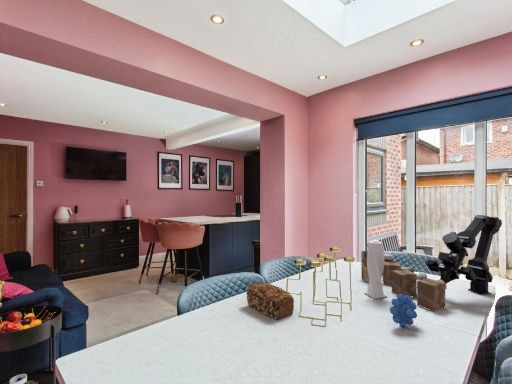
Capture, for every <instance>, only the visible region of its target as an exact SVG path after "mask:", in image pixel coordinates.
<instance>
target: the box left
mask: <svg viewBox="0 0 512 384" xmlns="http://www.w3.org/2000/svg"><path fill="white" fill-rule="evenodd" d="M401 267H402V265H401V263H399V262H394V261H393V262H384V269H383V275H382V282H383V285H384V286H392V270H401Z"/></svg>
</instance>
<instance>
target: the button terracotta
mask: <svg viewBox="0 0 512 384" xmlns="http://www.w3.org/2000/svg"><path fill="white" fill-rule="evenodd" d="M435 280H436V281H440V282H444V281H442V280H440V279H435ZM444 283H445V282H444ZM447 287H448V286H447V284H446V283H445V291H446V290H447V289H448V288H447Z"/></svg>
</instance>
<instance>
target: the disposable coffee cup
mask: <svg viewBox="0 0 512 384" xmlns="http://www.w3.org/2000/svg"><path fill="white" fill-rule="evenodd" d="M394 259H395V255H394V254H393V253H392V254H391V253H387V252H384V262H393V263H394ZM382 276H383V274H382Z"/></svg>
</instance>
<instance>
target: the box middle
mask: <svg viewBox="0 0 512 384" xmlns="http://www.w3.org/2000/svg"><path fill="white" fill-rule="evenodd" d="M417 275H418V274H417V273H415V272H414V273H413V272H410V271H408V270H392V285H391V293H393V294H395V295H396V296H397V295H398V294H402V295H404V296H406V295H408V296H410V297H411V298H412V296H417V281H418V280H417Z"/></svg>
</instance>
